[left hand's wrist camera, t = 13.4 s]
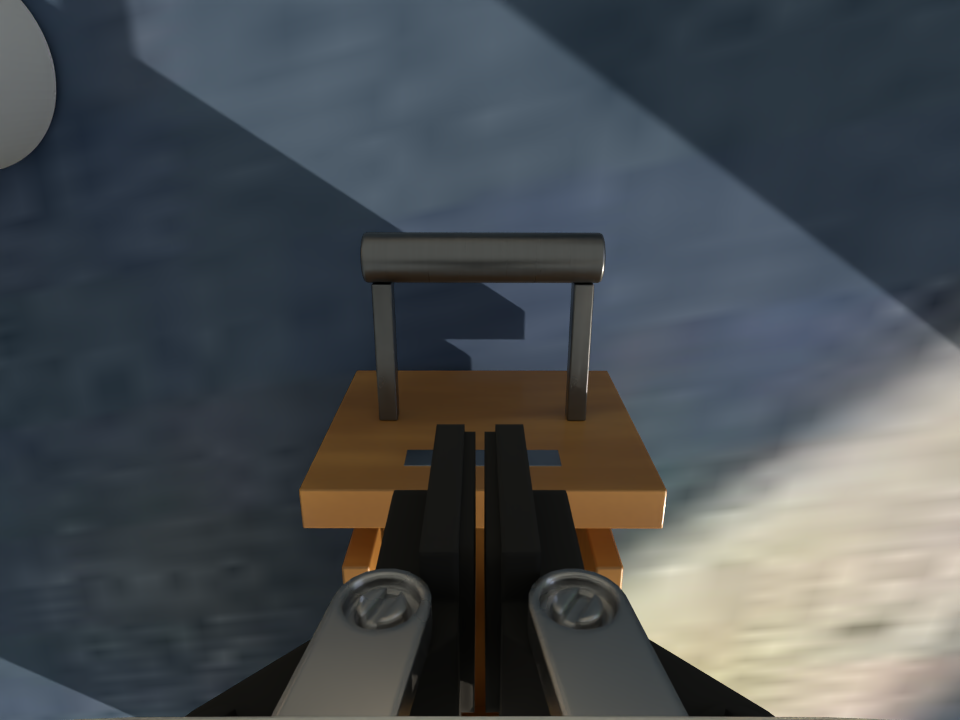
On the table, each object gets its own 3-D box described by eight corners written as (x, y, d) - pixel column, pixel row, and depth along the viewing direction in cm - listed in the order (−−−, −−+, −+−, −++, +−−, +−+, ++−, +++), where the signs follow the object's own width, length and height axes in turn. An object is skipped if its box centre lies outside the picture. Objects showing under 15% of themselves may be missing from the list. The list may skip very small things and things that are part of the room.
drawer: (345, 212, 23) (272, 264, 15) (619, 213, 23) (694, 265, 15) (379, 696, 31) (343, 900, 23) (582, 696, 31) (619, 900, 23)
